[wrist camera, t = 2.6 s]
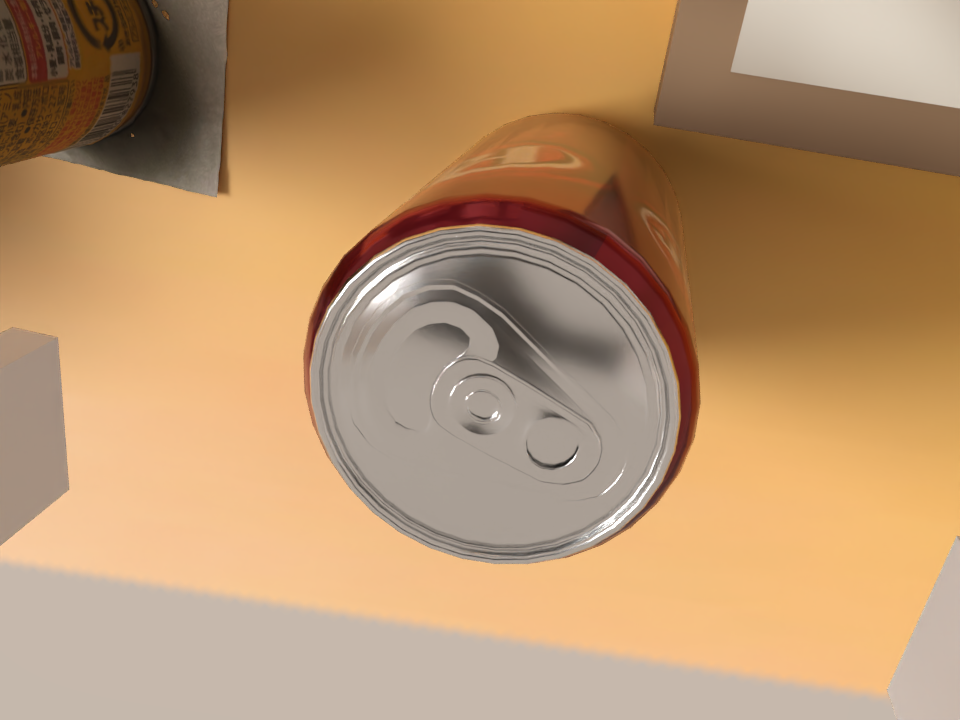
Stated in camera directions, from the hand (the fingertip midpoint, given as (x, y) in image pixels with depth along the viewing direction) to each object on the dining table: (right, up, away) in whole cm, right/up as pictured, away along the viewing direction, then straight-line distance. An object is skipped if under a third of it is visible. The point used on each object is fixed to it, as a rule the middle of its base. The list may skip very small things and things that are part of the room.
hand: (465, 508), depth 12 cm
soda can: (+3, +6, +13) cm, 15 cm away
